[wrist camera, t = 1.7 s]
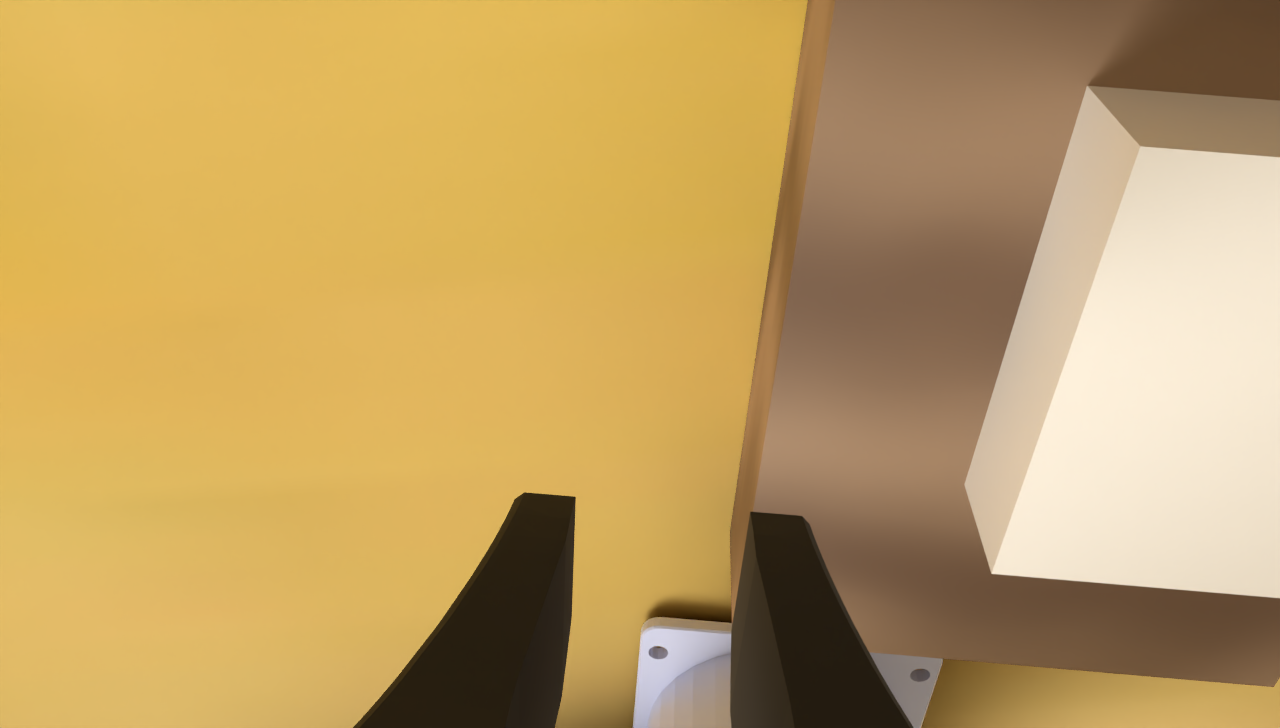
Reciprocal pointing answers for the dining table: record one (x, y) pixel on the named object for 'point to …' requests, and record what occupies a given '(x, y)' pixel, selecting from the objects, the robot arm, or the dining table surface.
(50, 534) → the dining table surface
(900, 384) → the walnut riser
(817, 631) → the robot arm
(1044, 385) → the cream tile
